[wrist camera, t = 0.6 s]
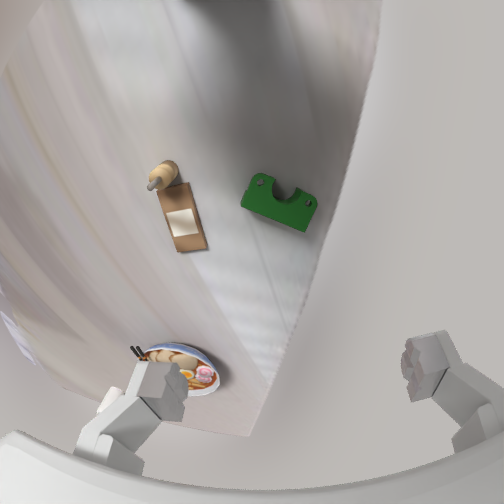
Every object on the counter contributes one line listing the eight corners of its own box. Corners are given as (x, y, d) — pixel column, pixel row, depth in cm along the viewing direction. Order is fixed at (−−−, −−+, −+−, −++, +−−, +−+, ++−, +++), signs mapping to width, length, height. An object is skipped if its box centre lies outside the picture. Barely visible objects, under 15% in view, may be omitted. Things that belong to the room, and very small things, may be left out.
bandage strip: (158, 189, 50) (156, 191, 49) (188, 182, 49) (186, 184, 48) (179, 249, 57) (177, 252, 56) (207, 245, 56) (206, 248, 55)
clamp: (298, 187, 53) (327, 202, 46) (285, 216, 55) (312, 235, 48) (244, 165, 47) (268, 177, 40) (230, 197, 49) (252, 216, 41)
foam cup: (107, 391, 96) (97, 417, 85) (105, 381, 91) (94, 409, 80) (128, 399, 97) (119, 426, 86) (128, 390, 92) (118, 418, 81)
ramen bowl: (233, 378, 80) (230, 401, 73) (164, 377, 84) (158, 398, 77) (209, 321, 67) (203, 348, 60) (129, 324, 71) (119, 347, 64)
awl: (157, 163, 47) (136, 179, 40) (175, 158, 47) (157, 173, 39) (162, 181, 49) (143, 200, 42) (180, 177, 49) (164, 196, 41)
